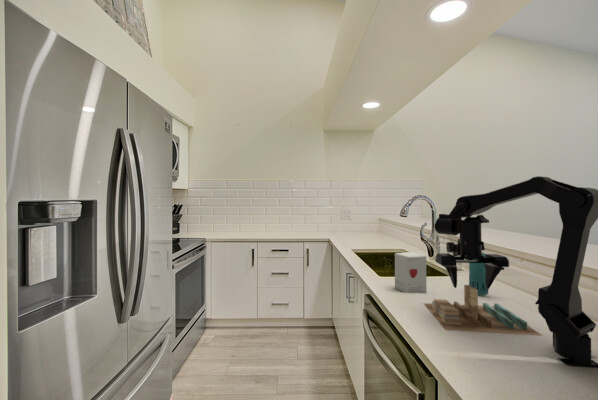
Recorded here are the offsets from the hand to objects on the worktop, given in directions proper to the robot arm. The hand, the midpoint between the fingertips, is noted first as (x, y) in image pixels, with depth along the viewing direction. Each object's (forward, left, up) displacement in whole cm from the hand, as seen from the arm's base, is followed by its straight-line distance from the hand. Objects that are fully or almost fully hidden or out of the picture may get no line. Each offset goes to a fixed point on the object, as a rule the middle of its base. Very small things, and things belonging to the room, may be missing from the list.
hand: (471, 288), depth 84 cm
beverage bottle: (+23, -13, -10) cm, 28 cm away
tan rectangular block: (0, 0, -9) cm, 9 cm away
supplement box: (+27, +11, -10) cm, 31 cm away
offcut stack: (0, +8, -9) cm, 12 cm away
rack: (0, 0, -10) cm, 10 cm away
